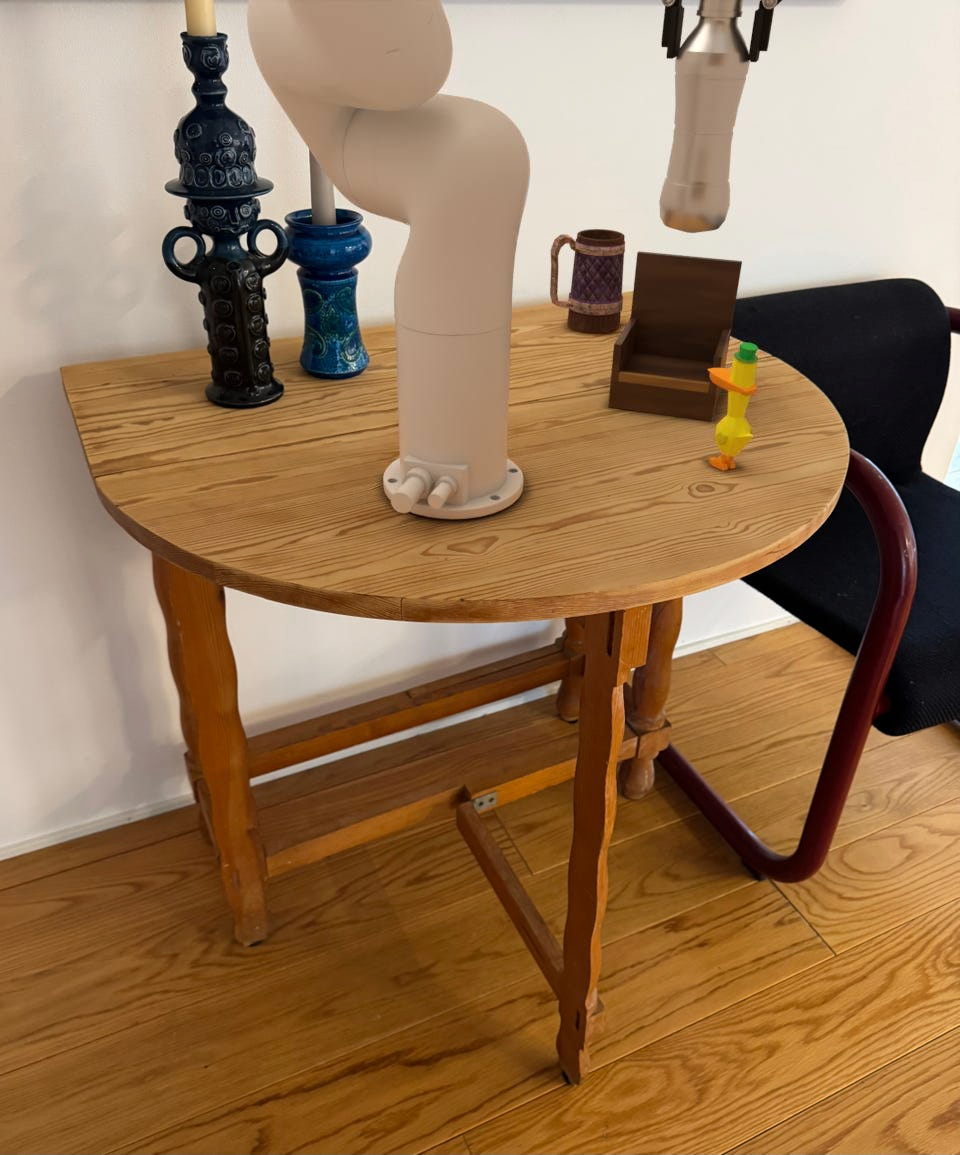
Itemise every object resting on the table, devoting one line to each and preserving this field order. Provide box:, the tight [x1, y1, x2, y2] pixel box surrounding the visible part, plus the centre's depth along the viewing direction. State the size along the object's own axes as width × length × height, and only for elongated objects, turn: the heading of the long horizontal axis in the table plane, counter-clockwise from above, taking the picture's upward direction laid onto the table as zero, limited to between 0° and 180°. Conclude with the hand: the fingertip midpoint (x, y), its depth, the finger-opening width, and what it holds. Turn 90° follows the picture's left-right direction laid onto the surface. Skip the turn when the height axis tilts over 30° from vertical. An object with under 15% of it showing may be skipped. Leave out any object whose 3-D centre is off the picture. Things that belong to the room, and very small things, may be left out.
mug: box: [549, 228, 626, 335], centre depth 121 cm, size 10×7×12 cm
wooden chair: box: [607, 250, 743, 422], centre depth 101 cm, size 10×11×14 cm
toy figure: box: [707, 342, 759, 472], centre depth 87 cm, size 7×4×12 cm, turn 30°
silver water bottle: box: [658, 0, 751, 234], centre depth 88 cm, size 6×7×20 cm
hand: (712, 57), depth 85 cm, fingers closed on silver water bottle, 6 cm apart
